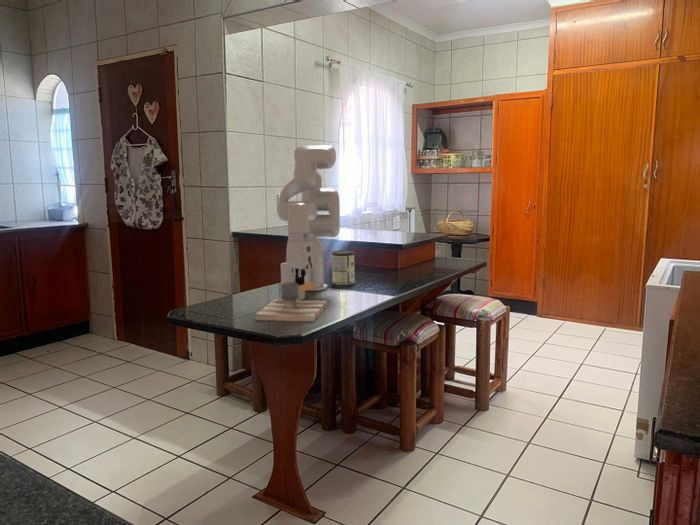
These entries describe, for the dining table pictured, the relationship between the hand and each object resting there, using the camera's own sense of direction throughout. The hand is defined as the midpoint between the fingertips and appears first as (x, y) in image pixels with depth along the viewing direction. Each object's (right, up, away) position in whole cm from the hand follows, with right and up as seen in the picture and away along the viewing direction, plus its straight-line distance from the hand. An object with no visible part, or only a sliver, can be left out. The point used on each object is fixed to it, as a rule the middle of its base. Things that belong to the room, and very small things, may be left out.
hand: (300, 287), depth 197 cm
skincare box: (-4, -6, +14) cm, 16 cm away
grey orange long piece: (0, -3, -4) cm, 5 cm away
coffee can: (+15, 0, +48) cm, 50 cm away
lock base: (-3, -9, -6) cm, 11 cm away
